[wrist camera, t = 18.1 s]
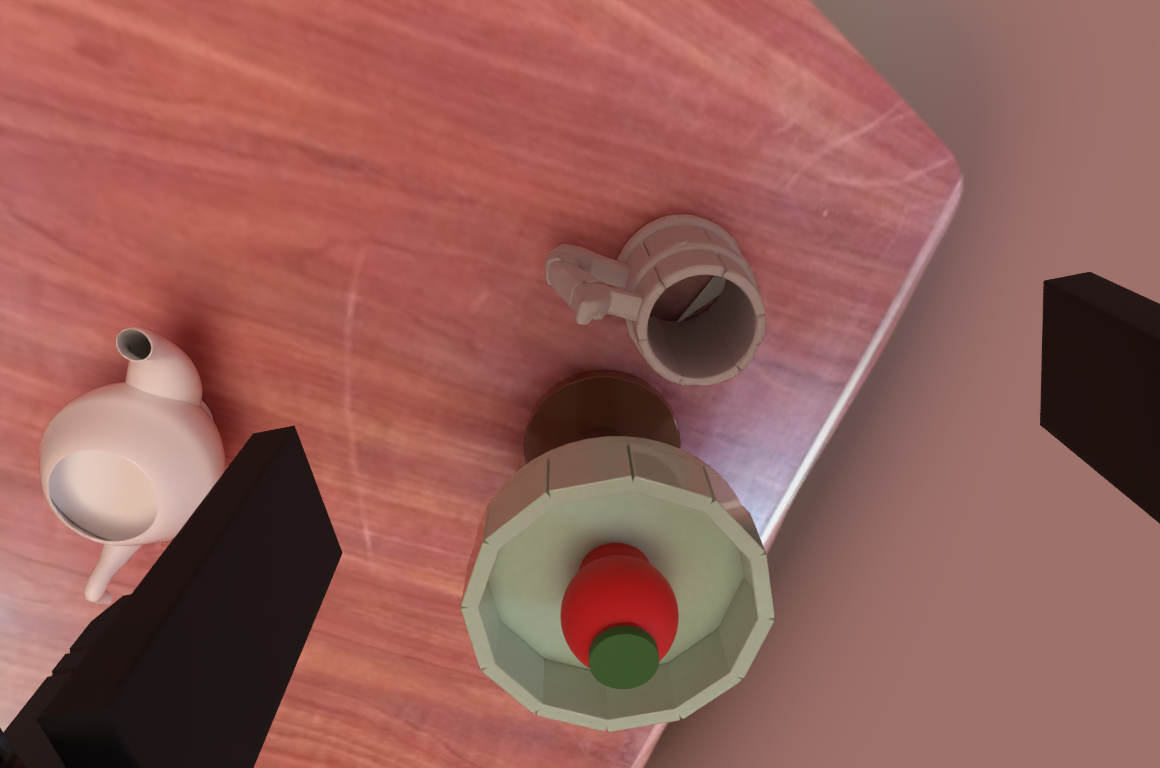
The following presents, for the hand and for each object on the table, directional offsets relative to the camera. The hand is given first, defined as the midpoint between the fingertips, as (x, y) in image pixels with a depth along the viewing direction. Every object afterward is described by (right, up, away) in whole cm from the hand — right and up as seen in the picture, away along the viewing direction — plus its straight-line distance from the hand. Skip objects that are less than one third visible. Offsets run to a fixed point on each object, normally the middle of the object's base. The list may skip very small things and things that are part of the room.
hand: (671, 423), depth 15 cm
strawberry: (0, -9, +26) cm, 28 cm away
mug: (+2, +8, +35) cm, 36 cm away
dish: (0, -3, +39) cm, 39 cm away
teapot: (-27, -2, +38) cm, 47 cm away
